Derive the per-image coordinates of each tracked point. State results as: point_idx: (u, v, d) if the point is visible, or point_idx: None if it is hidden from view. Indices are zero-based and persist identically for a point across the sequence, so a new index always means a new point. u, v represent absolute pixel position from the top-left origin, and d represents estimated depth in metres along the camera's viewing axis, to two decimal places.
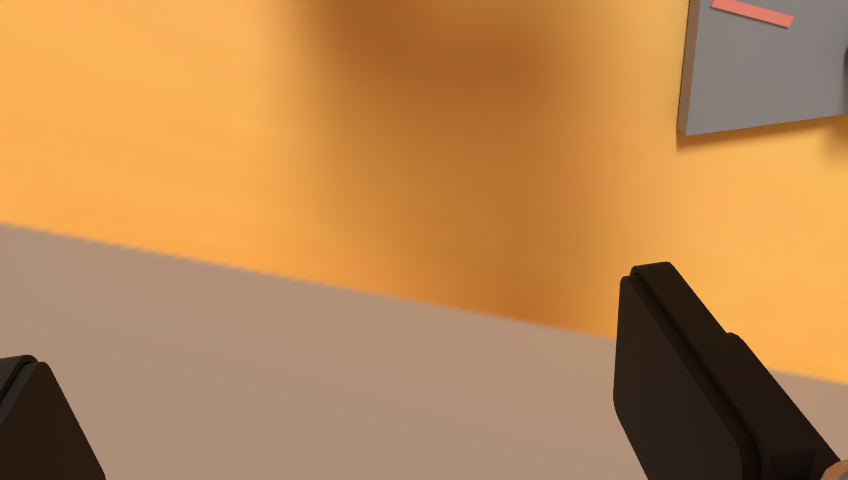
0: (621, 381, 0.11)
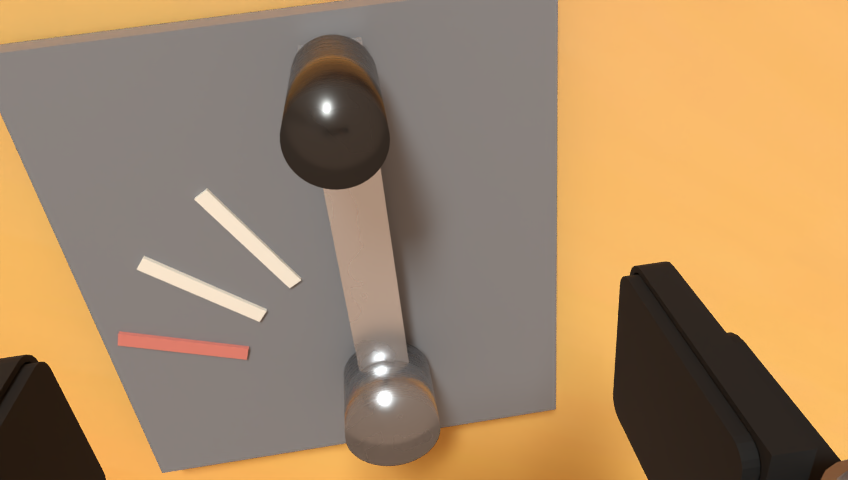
0: (621, 381, 0.11)
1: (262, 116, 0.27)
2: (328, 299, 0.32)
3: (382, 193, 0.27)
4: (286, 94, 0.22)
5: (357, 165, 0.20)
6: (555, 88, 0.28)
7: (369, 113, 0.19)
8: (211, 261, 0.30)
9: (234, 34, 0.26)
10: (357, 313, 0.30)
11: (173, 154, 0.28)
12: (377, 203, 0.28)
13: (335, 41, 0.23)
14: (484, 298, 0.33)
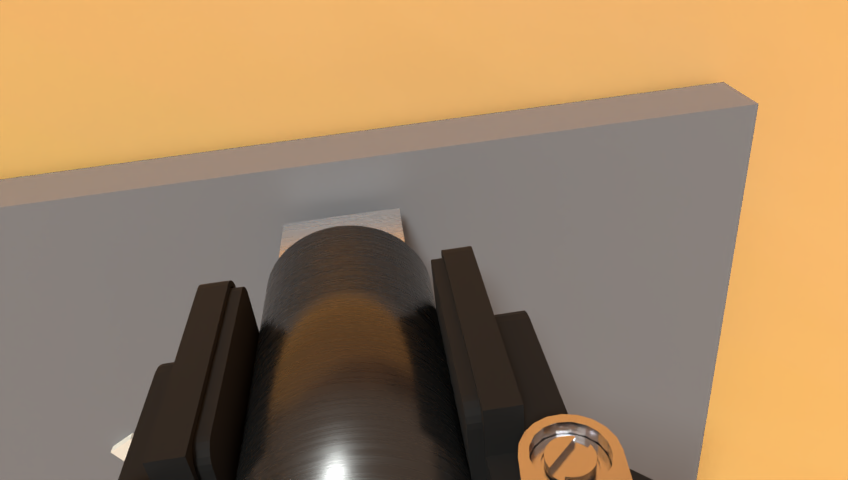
0: None
1: None
2: None
3: None
4: (249, 395, 0.10)
5: None
6: (727, 272, 0.16)
7: None
8: None
9: (166, 203, 0.14)
10: None
11: (70, 388, 0.16)
12: None
13: (353, 252, 0.12)
14: None
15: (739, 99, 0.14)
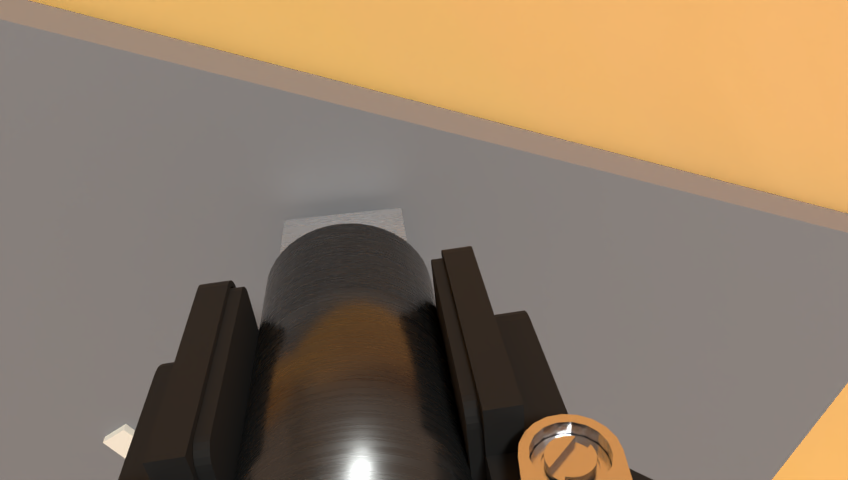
0: None
1: None
2: None
3: None
4: (249, 390, 0.10)
5: None
6: (844, 383, 0.19)
7: None
8: None
9: (475, 158, 0.14)
10: None
11: None
12: None
13: (357, 250, 0.11)
14: None
15: None
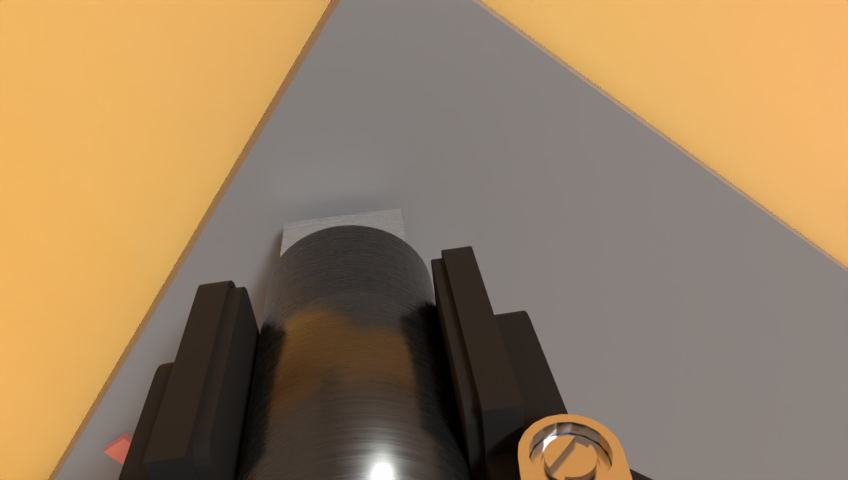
0: None
1: (630, 311, 0.17)
2: None
3: None
4: (250, 394, 0.10)
5: None
6: None
7: None
8: None
9: (719, 203, 0.15)
10: None
11: None
12: None
13: (355, 252, 0.12)
14: None
15: None
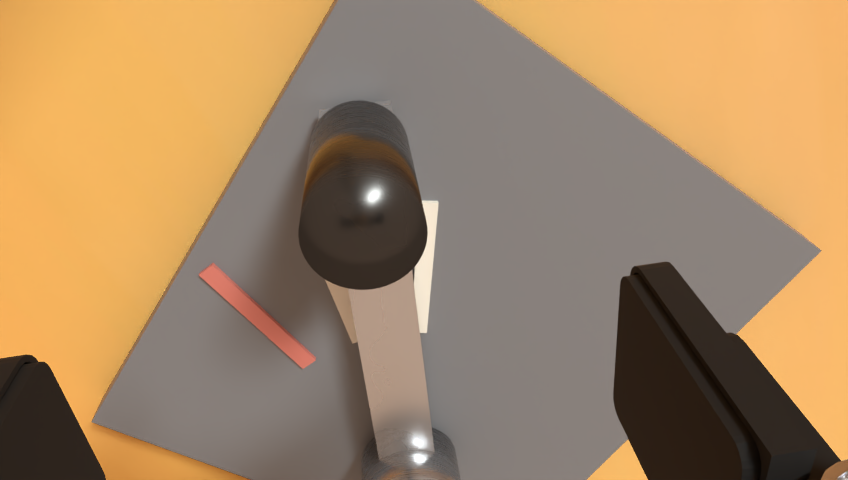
0: (620, 381, 0.11)
1: (544, 180, 0.25)
2: (427, 363, 0.29)
3: (410, 272, 0.24)
4: (306, 173, 0.19)
5: (387, 263, 0.17)
6: (746, 322, 0.30)
7: (404, 205, 0.16)
8: None
9: (595, 103, 0.24)
10: (378, 399, 0.27)
11: (444, 152, 0.24)
12: (404, 282, 0.25)
13: (362, 110, 0.20)
14: (540, 443, 0.32)
15: (813, 244, 0.29)
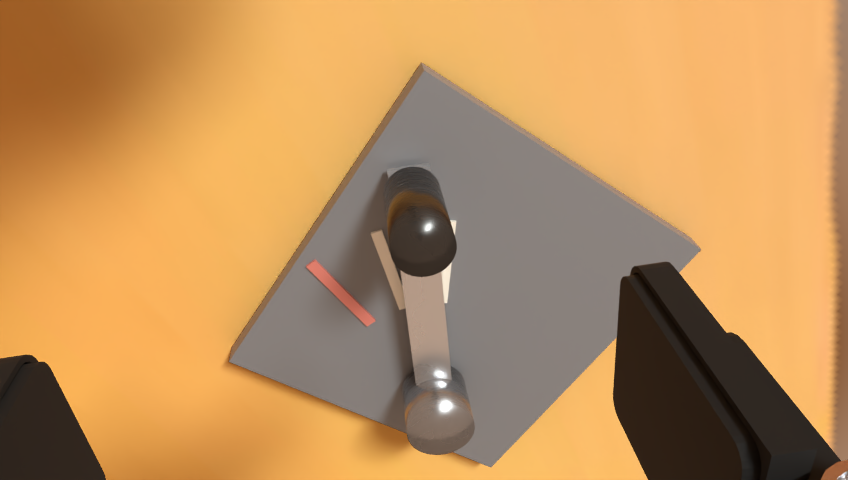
0: (621, 381, 0.11)
1: (521, 207, 0.41)
2: (446, 323, 0.45)
3: None
4: (387, 212, 0.34)
5: (435, 263, 0.33)
6: None
7: (445, 233, 0.32)
8: None
9: (552, 161, 0.39)
10: (417, 345, 0.43)
11: (460, 191, 0.40)
12: None
13: (416, 174, 0.36)
14: (521, 377, 0.48)
15: (696, 245, 0.44)
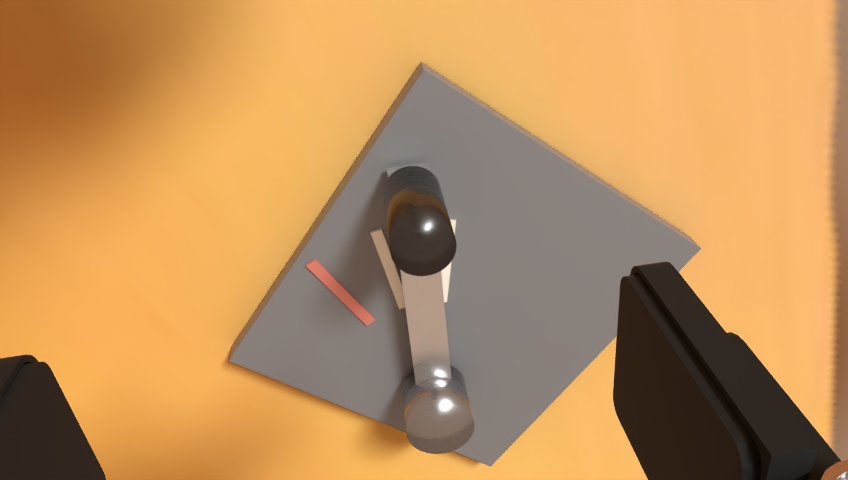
0: (621, 381, 0.11)
1: (521, 206, 0.41)
2: (446, 322, 0.45)
3: None
4: (387, 212, 0.34)
5: (435, 262, 0.33)
6: None
7: (445, 232, 0.32)
8: None
9: (552, 161, 0.40)
10: (417, 344, 0.43)
11: (460, 190, 0.40)
12: None
13: (416, 173, 0.36)
14: (521, 376, 0.48)
15: (696, 244, 0.44)
